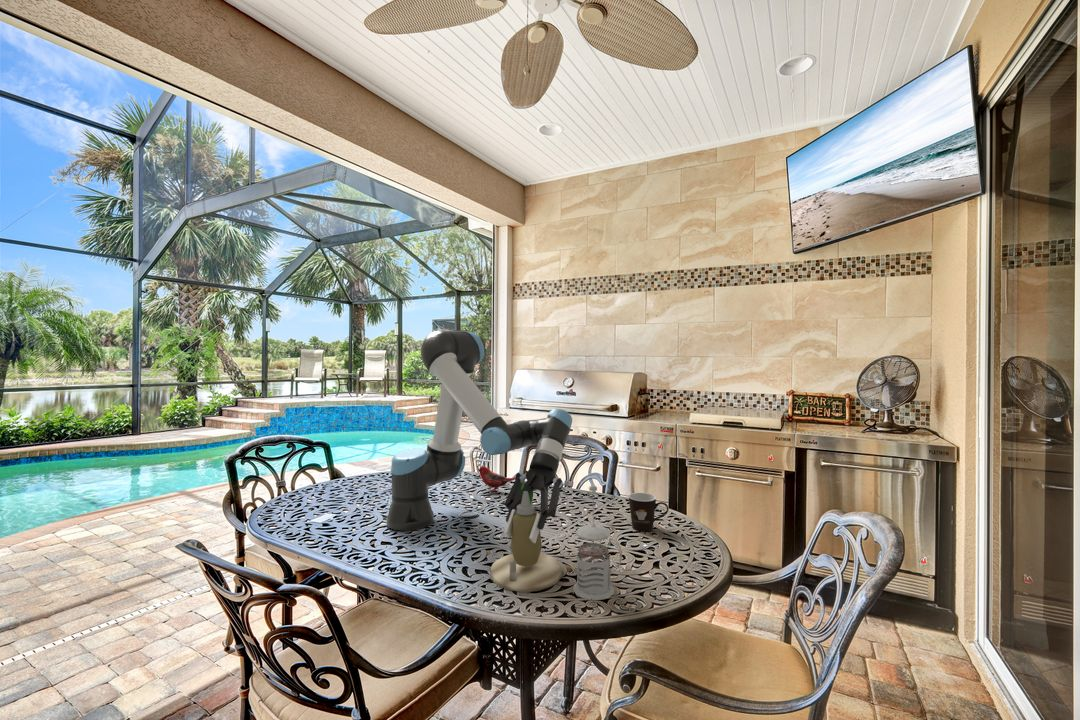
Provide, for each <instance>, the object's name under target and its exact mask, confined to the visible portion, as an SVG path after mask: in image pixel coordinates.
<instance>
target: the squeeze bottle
mask: <svg viewBox="0 0 1080 720" xmlns="http://www.w3.org/2000/svg"><path fill="white" fill-rule="evenodd" d="M536 516H537V512H536V506H535V504H533V503H530V498H529V494H528V491H524V492H523V496H522V501H521V504H519V505H517V513H516V514H515V515H514V516H513V524H512V534H511V537H510V547H509V548H510V551H511V554H513V557H514V560H515V561H516V564H518V565H521V566H531V565H534V564H536V563H537V562H538V559H539V555H540V553H541V552H542V550H543V549H542V548H543V544H542V543H543V542H542V533H541V530H540V531H539V534H538V537H537V540H536V543H532V541H531V540H530V539H529V537H530V534H531V531H532V528H533V525H534V522H535V519H536Z"/></svg>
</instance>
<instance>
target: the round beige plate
mask: <svg viewBox="0 0 1080 720" xmlns="http://www.w3.org/2000/svg"><path fill="white" fill-rule="evenodd" d="M562 571H563V570H562V564H561V563H560V561H559V560H558V559H556V558H555V557H553V556H552V555H548V554H545V553H541V552H540V555H539V559H538V562H537V563H536V564H534V565H531V566H521V565H518V564H516V561H515V560H514V557H513V554H512V553H510V554H507V555H505V556H502V557H500V558H498V559H497V560H495V561H494V562H493V563H492V565H491V568H490V578H491V580H492V581H493V583H494V584H496V585H497V586H499V587H501V588H503V589H505V590H509V591H514V592H521V593H522V592H537V591H542V590H545V589H548V588H550V587H552V586H554V585H556V584H557V583H558V582H559V581H560V580H561V578H562V574H563V573H562Z"/></svg>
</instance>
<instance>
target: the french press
mask: <svg viewBox="0 0 1080 720" xmlns="http://www.w3.org/2000/svg"><path fill="white" fill-rule="evenodd" d="M588 490H589V491H590V492H592V523H591V524H584V525H581V526H580V527H579V528H577V529H576V532H575V534H576V535H577V537H578V538H580V539H583V540H586V541H592V542H588V543H587V542H586V543H582V544H580V545H579V547H577V548H578V550H577V551H578V552H577V554H576V556H577V557H576V558H577V559H576V566H577V567H576V569H577V571H576V573H577V574H576V575H577V577H576V578H577V579H576V581H577V582H576V583H575V584H574V585H573V588H572V591H573V592H574V593H575V595H577V596H578V597H580V598H582V599H585V600H589V601H590V600H591V599H592V600H591V601H601V600H606V599H608V598H610V597H612V596H611V595H613V594H614V593H615V588H614V586H613V585H612V584H611V581H612V580H611V573H613V572H616V571H618V569H619V568H620V566H621V563H622V559H623V550H622V547H621V546H620V544H619V542H617V541H616V540H615V539H613V538H609V537H610V536H611V530H609V529H608V528H606V527H604V526H603V525H601V524H600V525H599V524H597V523H596V524H595V523H594V522H595V520H594V518H595V517H594V516H595V515H594V506H595V504H594V502H595V501H594V499H595V498H594V497H595V496H594V492H596V491H598V487H597V486H596V485H595V484H591V485H590V486H589V487H588ZM608 538H609V540H608V542H607V543H608V544H607V545H608V546H607V545H603V544H601V543H598V542H597V541H603V540H606V539H608ZM613 541H614V542H615V543H614V542H613ZM611 544H612V545H614V546H615V547H616V548H617V550H618V553H619V562H618V564H616V565H615V566H613V567H611V568H610V564H611V563H610V562H611V561H610V559H611V558H610V553H608V552H609V548H608V547H610V546H611ZM603 556H604V557H605V558H606V559H605V558H604V557H603ZM589 557H590V558H589ZM587 558H588V559H587ZM583 559H586V560H583ZM594 560H596V561H594ZM600 560H602V561H600ZM586 569H587V570H586ZM582 570H583V571H582ZM609 596H610V597H609ZM607 597H608V598H607Z"/></svg>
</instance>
